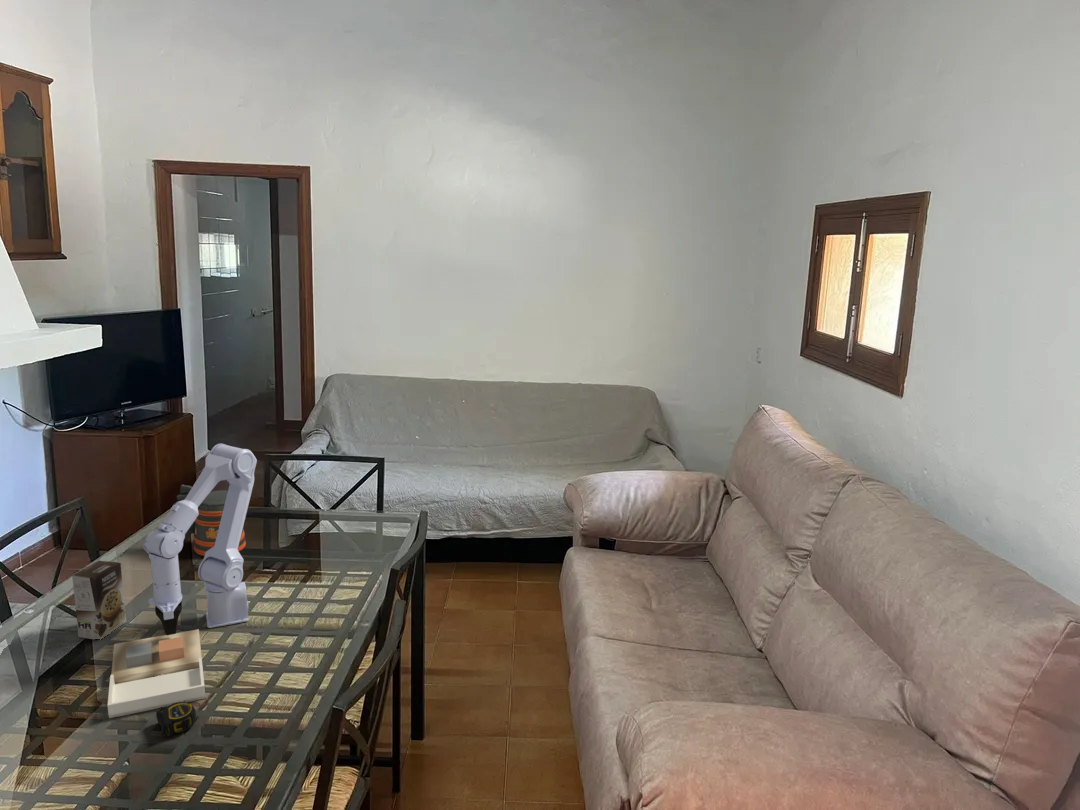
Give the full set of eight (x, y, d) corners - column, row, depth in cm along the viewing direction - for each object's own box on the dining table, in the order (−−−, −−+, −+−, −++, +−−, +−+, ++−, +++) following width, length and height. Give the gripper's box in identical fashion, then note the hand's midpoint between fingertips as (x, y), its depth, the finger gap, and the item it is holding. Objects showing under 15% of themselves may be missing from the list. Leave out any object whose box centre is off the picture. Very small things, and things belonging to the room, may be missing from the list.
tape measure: (156, 723, 161) (154, 707, 160) (192, 712, 165) (191, 696, 164) (162, 742, 156) (160, 725, 155) (200, 730, 159) (198, 714, 159)
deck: (199, 636, 193) (198, 629, 193) (202, 669, 180) (201, 661, 180) (115, 651, 186) (114, 644, 185) (111, 686, 173) (110, 678, 172)
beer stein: (171, 559, 234) (166, 494, 229) (186, 539, 248) (181, 477, 243) (239, 557, 236) (235, 493, 232) (250, 537, 250) (247, 476, 246)
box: (202, 669, 180) (201, 657, 179) (205, 698, 169) (204, 685, 169) (111, 687, 172) (110, 674, 172) (108, 718, 162) (107, 705, 161)
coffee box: (101, 641, 190) (94, 578, 186) (77, 637, 191) (70, 575, 187) (128, 622, 199) (121, 562, 195) (105, 619, 200) (98, 559, 196)
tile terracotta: (183, 646, 185) (182, 636, 184) (184, 657, 181) (183, 647, 180) (159, 650, 183) (158, 640, 182) (159, 662, 179) (158, 651, 178)
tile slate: (152, 652, 182) (151, 642, 182) (152, 663, 178) (151, 653, 177) (127, 656, 180) (126, 646, 180) (127, 668, 176) (126, 657, 175)
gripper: (147, 569, 190) (152, 622, 193) (146, 596, 177) (151, 652, 180) (179, 565, 193) (184, 616, 196) (181, 591, 180) (186, 645, 183)
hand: (170, 633), depth 188 cm, fingers closed
